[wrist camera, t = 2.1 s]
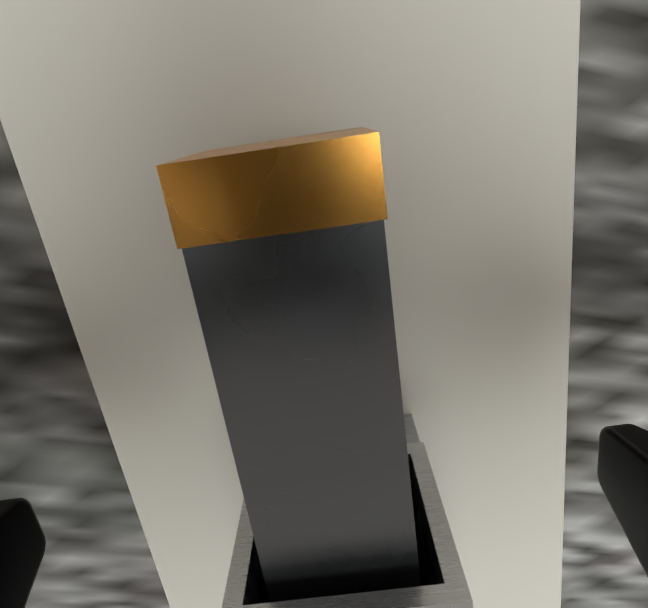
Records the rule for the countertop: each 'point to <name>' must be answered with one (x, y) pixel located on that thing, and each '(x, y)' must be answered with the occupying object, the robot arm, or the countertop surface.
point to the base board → (400, 229)
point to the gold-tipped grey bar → (303, 353)
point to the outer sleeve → (395, 604)
